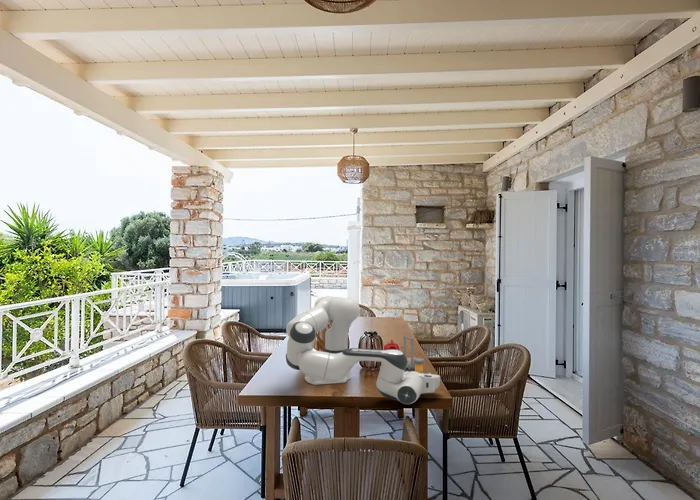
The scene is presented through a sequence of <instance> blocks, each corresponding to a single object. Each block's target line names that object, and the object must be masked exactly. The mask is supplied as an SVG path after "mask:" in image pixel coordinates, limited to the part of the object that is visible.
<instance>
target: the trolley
mask: <svg viewBox="0 0 700 500" xmlns="http://www.w3.org/2000/svg"><path fill="white" fill-rule="evenodd" d="M407 340H409V341H410V358H411V363H410V362H408V363H407V366H406V369H405V371H404V372H406V371H410V372H411V371H415V369H414V368H412V367H414V364H413V357H414V338H411V337H409V336H406V335H404V336H403V353H404V354H405V356H406V357H407Z"/></svg>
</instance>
